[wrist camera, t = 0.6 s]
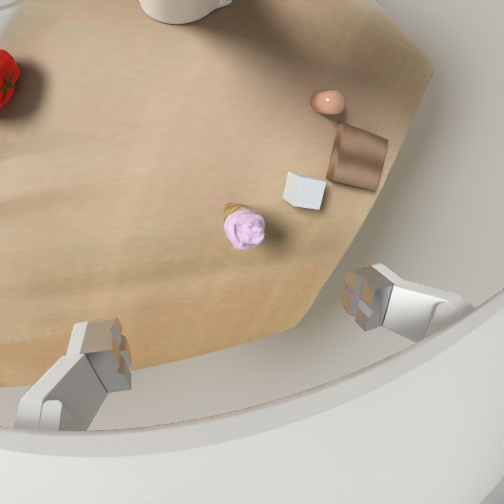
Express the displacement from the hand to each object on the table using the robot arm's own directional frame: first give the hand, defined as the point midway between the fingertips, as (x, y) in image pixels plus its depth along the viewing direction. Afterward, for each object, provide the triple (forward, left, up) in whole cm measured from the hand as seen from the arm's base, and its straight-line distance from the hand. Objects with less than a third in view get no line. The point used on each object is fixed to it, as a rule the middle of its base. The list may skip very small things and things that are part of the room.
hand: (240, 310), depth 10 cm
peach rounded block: (-15, +25, -44) cm, 53 cm away
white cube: (+3, +24, -44) cm, 50 cm away
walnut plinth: (-6, +36, -44) cm, 57 cm away
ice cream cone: (+9, +11, -44) cm, 46 cm away
